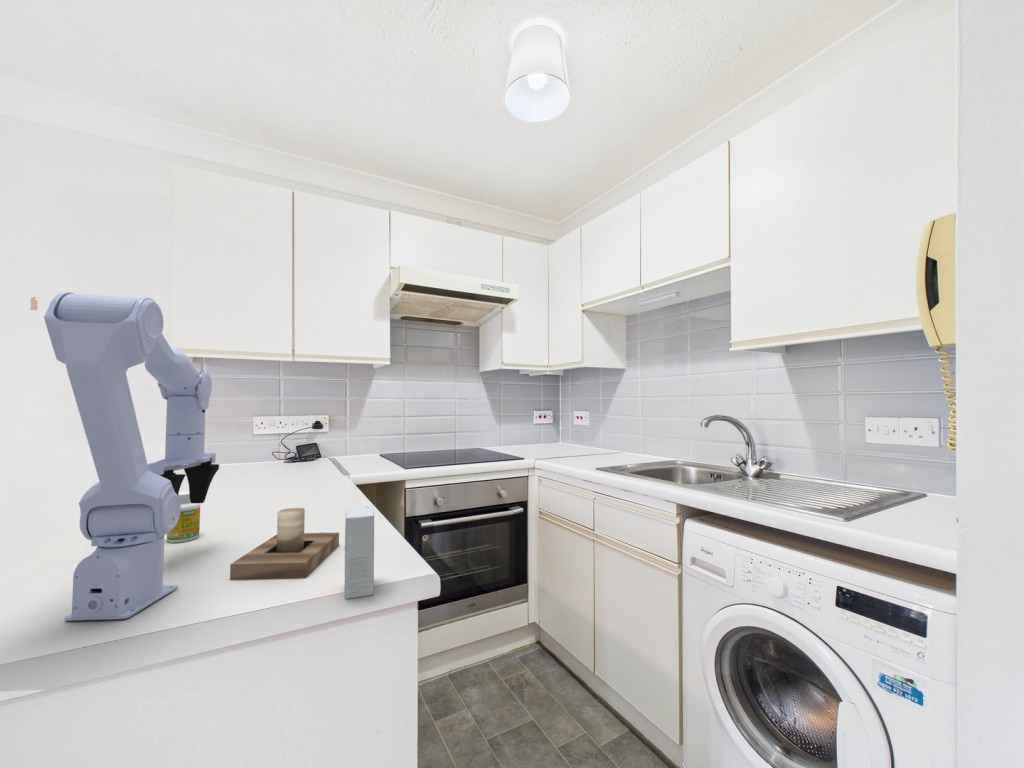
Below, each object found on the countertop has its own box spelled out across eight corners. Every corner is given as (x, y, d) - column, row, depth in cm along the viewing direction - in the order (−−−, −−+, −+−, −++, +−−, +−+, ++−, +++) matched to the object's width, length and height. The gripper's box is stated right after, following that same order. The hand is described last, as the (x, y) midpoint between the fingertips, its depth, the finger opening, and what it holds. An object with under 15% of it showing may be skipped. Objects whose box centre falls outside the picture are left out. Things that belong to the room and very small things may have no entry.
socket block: (305, 577, 68) (305, 562, 69) (229, 579, 68) (230, 564, 68) (338, 544, 84) (339, 532, 84) (277, 546, 83) (277, 533, 83)
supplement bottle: (181, 544, 84) (182, 496, 85) (159, 542, 85) (161, 494, 86) (205, 535, 90) (207, 490, 90) (185, 534, 91) (186, 489, 91)
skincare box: (344, 583, 66) (345, 507, 67) (372, 579, 68) (373, 505, 68) (343, 600, 61) (344, 517, 61) (374, 595, 62) (375, 514, 63)
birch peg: (297, 565, 74) (298, 513, 74) (271, 565, 73) (272, 514, 74) (307, 555, 78) (308, 507, 79) (283, 556, 78) (284, 507, 78)
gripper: (179, 437, 70) (176, 518, 69) (231, 431, 84) (230, 498, 84) (135, 437, 70) (132, 519, 69) (195, 431, 84) (193, 498, 83)
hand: (183, 508), depth 76 cm, fingers open, 7 cm apart
